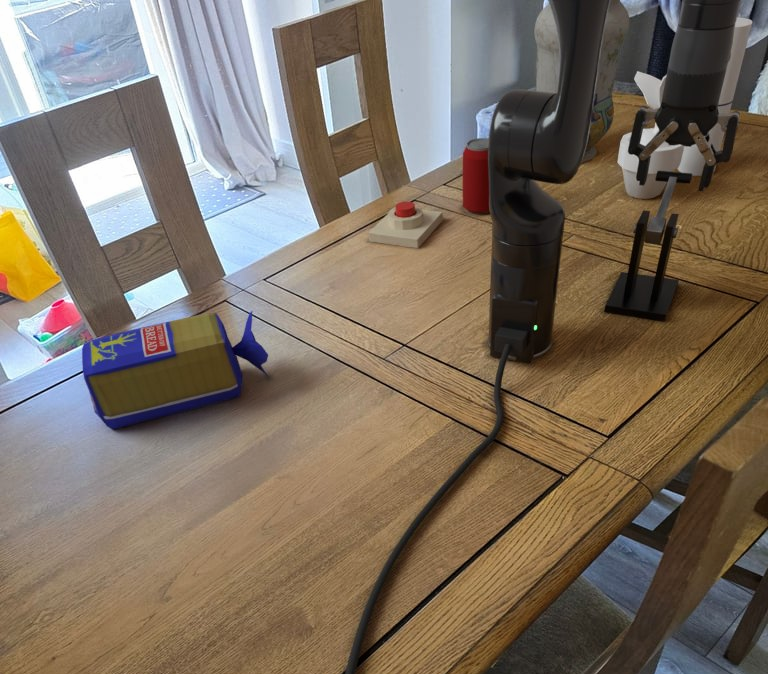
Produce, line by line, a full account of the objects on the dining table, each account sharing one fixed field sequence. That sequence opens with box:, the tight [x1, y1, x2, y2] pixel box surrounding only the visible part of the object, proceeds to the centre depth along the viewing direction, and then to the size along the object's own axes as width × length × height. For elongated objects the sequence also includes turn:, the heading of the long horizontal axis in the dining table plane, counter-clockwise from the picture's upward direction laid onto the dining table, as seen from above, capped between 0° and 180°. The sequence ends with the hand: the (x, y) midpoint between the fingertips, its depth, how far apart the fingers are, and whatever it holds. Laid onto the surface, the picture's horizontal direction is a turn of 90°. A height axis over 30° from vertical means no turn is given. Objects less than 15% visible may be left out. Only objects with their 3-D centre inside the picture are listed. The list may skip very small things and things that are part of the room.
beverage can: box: [462, 137, 490, 215], centre depth 132 cm, size 7×7×12 cm
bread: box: [81, 310, 270, 430], centre depth 97 cm, size 10×25×10 cm, turn 108°
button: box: [394, 201, 416, 218], centre depth 130 cm, size 4×4×2 cm
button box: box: [368, 205, 444, 249], centre depth 131 cm, size 12×10×4 cm
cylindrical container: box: [677, 16, 753, 177], centre depth 133 cm, size 7×7×25 cm
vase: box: [533, 0, 630, 164], centre depth 141 cm, size 18×18×30 cm
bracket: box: [603, 209, 680, 322], centre depth 105 cm, size 11×9×13 cm
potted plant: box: [617, 70, 684, 200], centre depth 127 cm, size 13×12×25 cm
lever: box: [644, 171, 693, 246], centre depth 103 cm, size 13×5×2 cm, turn 154°
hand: (671, 186), depth 106 cm, fingers open, 8 cm apart
